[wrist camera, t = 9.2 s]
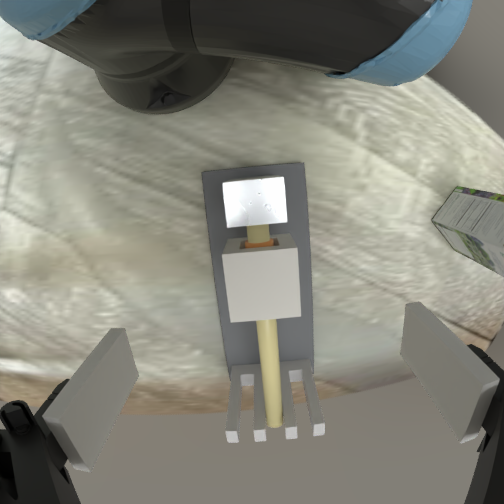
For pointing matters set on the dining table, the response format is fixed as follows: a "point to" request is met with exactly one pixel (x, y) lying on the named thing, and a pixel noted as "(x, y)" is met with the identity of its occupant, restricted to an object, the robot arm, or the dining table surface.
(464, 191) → the syrup box
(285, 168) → the cable comb board
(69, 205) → the dining table surface
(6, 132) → the dining table surface
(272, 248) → the sleeve
